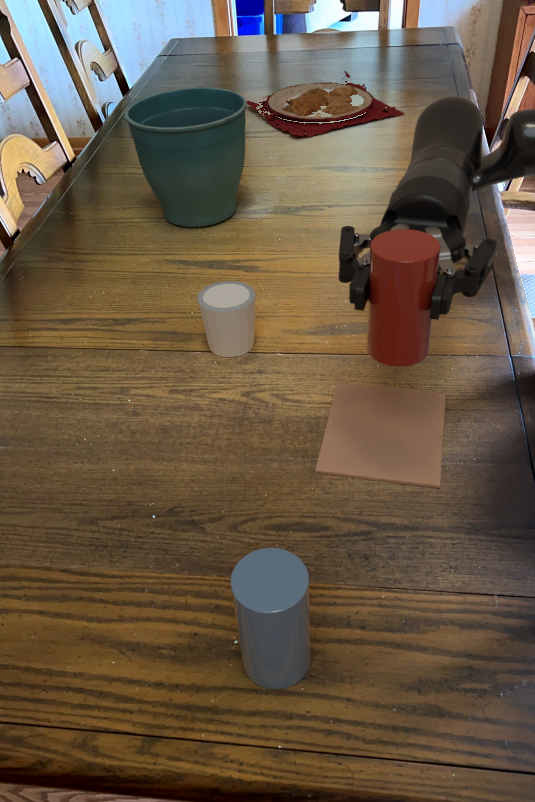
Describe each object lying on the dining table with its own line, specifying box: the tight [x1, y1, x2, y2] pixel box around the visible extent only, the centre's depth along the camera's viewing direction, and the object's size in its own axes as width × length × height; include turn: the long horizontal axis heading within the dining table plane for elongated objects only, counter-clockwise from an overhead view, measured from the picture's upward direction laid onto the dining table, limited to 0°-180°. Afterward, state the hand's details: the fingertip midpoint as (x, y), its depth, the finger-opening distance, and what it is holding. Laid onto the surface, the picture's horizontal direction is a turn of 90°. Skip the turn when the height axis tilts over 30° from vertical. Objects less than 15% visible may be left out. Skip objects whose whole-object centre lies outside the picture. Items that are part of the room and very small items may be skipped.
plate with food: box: [246, 70, 405, 138], centre depth 150 cm, size 24×26×4 cm
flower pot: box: [124, 87, 248, 228], centre depth 112 cm, size 18×18×17 cm
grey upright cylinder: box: [230, 547, 312, 690], centre depth 52 cm, size 5×5×10 cm
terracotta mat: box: [314, 382, 447, 489], centre depth 74 cm, size 12×14×1 cm
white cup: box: [196, 280, 256, 358], centre depth 86 cm, size 7×7×7 cm
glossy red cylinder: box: [366, 229, 440, 368], centre depth 59 cm, size 5×5×10 cm
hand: (396, 305), depth 57 cm, fingers closed on glossy red cylinder, 5 cm apart
